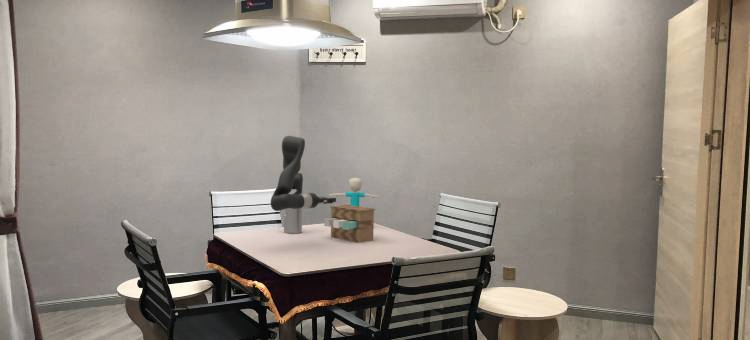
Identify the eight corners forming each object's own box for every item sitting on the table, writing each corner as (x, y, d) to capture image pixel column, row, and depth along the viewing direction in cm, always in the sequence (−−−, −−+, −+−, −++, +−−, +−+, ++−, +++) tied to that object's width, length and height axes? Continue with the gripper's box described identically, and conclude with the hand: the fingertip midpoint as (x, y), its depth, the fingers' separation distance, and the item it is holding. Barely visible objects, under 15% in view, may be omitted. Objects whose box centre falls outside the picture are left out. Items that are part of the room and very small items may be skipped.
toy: (380, 227, 390) (381, 177, 387) (379, 230, 380) (380, 178, 378) (330, 225, 393) (330, 176, 390) (327, 228, 383) (328, 177, 381)
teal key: (342, 229, 339) (342, 221, 339) (354, 227, 346) (354, 220, 345) (347, 230, 337) (347, 222, 336) (359, 228, 343) (360, 220, 343)
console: (329, 237, 356) (330, 206, 354) (344, 234, 363) (344, 204, 362) (359, 243, 340) (360, 210, 339) (374, 240, 348) (374, 208, 346)
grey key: (324, 225, 349) (324, 218, 349) (336, 224, 355) (336, 217, 355) (329, 226, 346) (329, 219, 346) (341, 224, 353) (341, 217, 352)
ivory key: (333, 227, 344) (333, 220, 344) (345, 225, 350) (345, 218, 350) (338, 228, 341) (338, 221, 341) (350, 226, 348) (350, 219, 347)
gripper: (316, 194, 321) (339, 192, 333) (296, 192, 330) (319, 191, 342) (316, 209, 321) (339, 207, 334) (296, 207, 330) (319, 205, 343)
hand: (329, 199), depth 338 cm, fingers open, 8 cm apart
